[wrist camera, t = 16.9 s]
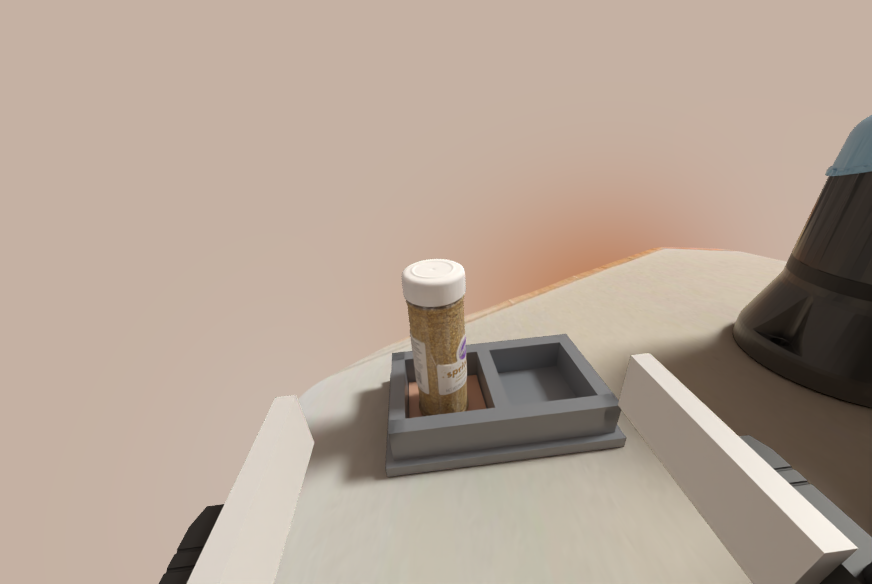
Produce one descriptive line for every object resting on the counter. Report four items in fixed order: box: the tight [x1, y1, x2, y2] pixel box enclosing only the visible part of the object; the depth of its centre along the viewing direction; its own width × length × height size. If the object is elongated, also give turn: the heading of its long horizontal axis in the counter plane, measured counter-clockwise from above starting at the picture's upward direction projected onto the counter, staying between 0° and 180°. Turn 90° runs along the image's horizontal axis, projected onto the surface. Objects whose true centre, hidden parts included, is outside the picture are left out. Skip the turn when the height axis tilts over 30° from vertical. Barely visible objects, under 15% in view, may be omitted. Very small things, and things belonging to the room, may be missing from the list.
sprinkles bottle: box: [402, 259, 469, 416], centre depth 26 cm, size 5×5×14 cm
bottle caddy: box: [386, 334, 626, 477], centre depth 29 cm, size 19×11×4 cm, turn 95°
